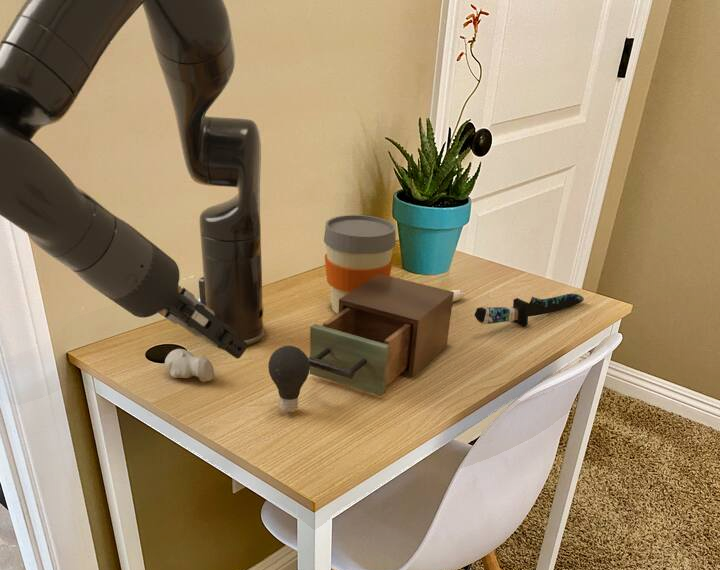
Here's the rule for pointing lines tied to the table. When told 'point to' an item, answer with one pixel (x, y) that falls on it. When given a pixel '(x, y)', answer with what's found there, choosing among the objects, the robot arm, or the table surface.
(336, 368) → the drawer
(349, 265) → the reusable coffee cup
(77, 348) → the table surface
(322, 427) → the table surface
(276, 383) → the light bulb
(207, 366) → the pale two-lobed sculpture
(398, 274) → the table surface
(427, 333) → the cabinet
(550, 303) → the knife
